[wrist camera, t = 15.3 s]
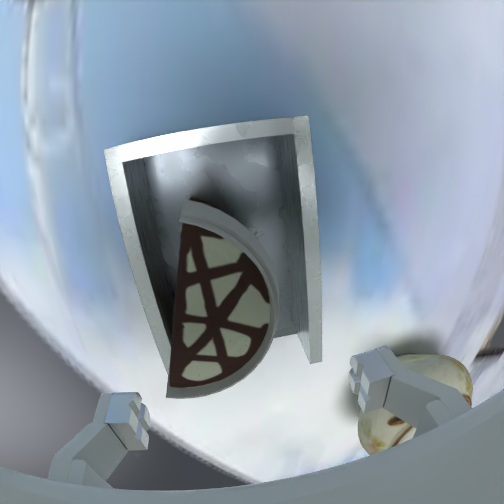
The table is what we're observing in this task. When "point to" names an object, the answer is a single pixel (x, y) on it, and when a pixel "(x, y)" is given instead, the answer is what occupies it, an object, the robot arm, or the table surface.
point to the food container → (219, 303)
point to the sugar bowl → (393, 428)
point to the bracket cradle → (230, 202)
